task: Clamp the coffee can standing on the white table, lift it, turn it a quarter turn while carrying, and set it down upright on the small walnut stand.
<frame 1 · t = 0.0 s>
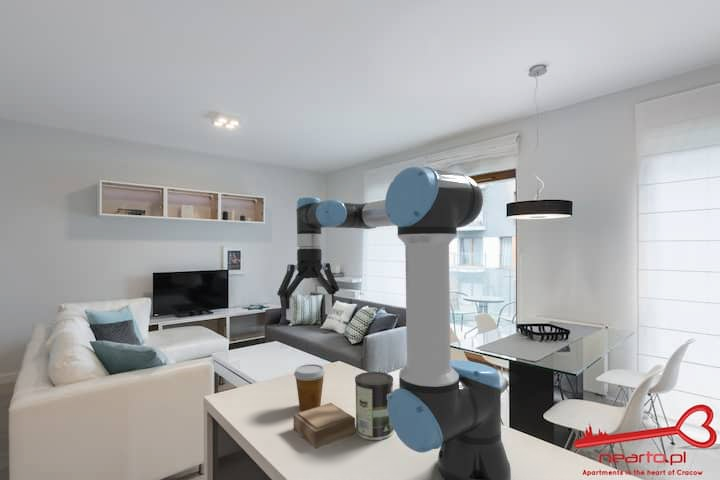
hand: (309, 317, 111), 28 cm above the table, fingers open, 13 cm apart
coffee can: (374, 431, 97), on the table
stand: (323, 431, 97), on the table
disposable coffee cup: (309, 408, 111), on the table
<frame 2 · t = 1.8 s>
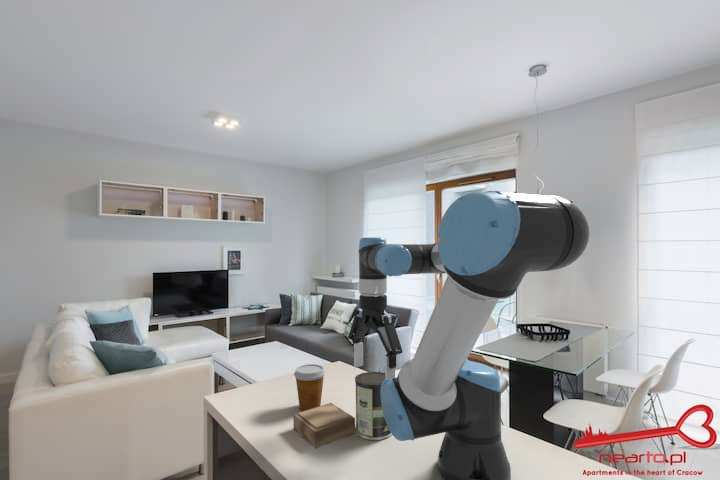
hand: (373, 372, 98), 15 cm above the table, fingers open, 13 cm apart
nothing on the table moved.
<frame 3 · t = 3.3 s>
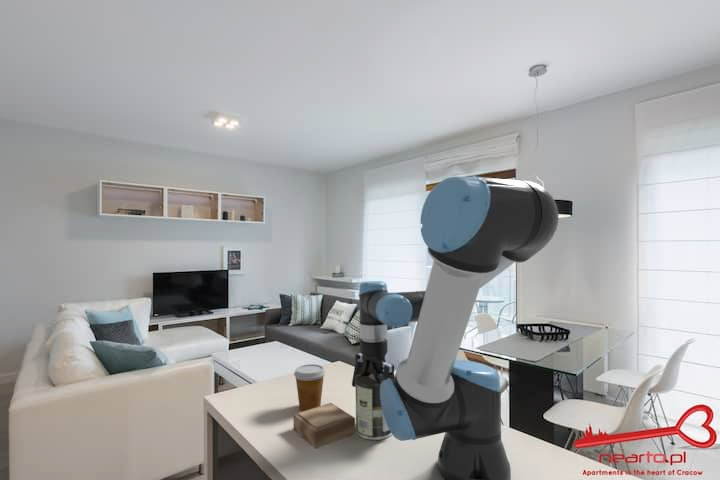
hand: (374, 421, 97), 2 cm above the table, fingers closed on coffee can, 10 cm apart
coffee can: (374, 431, 97), on the table, touching gripper
everything else where it was.
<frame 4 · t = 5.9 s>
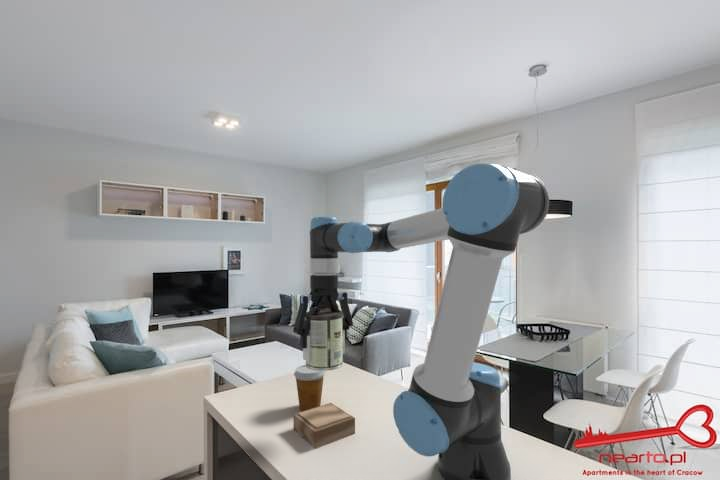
hand: (324, 356, 98), 20 cm above the table, fingers closed on coffee can, 10 cm apart
coffee can: (324, 365, 98), point 17 cm above the table, touching gripper
everything else where it was.
when the fingers open (8 cm above the table, at t = 8.6 s): coffee can stays where it is, resting on stand.
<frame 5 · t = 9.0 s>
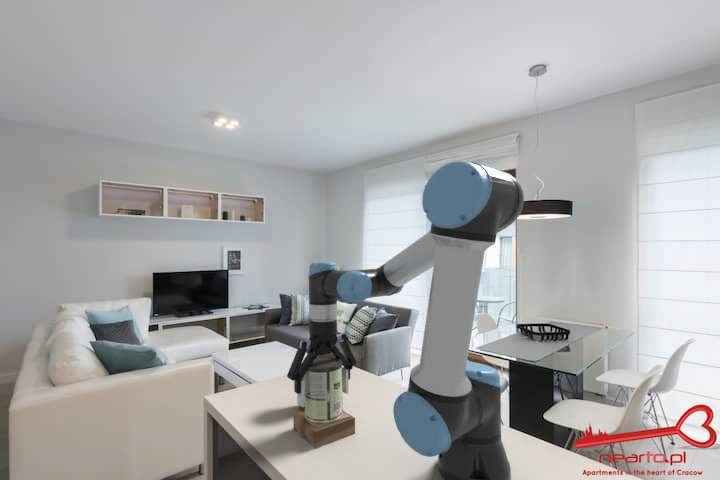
hand: (323, 398, 97), 9 cm above the table, fingers open, 13 cm apart
coffee can: (323, 415, 97), point 4 cm above the table, touching stand
everything else where it was.
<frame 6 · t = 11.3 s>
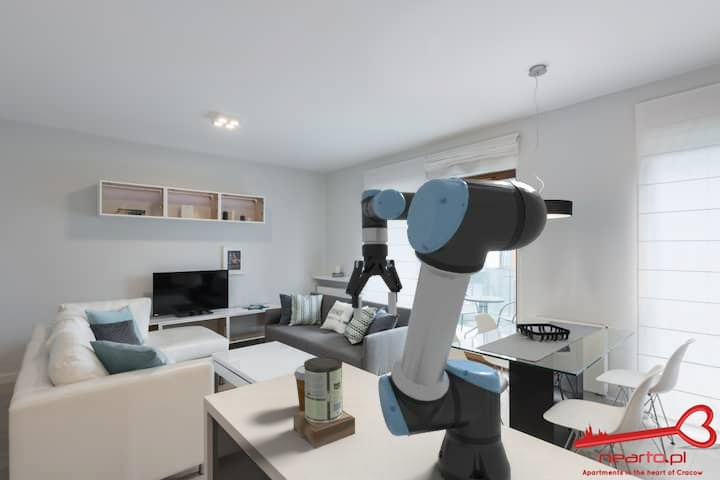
hand: (375, 317, 104), 29 cm above the table, fingers open, 13 cm apart
nothing on the table moved.
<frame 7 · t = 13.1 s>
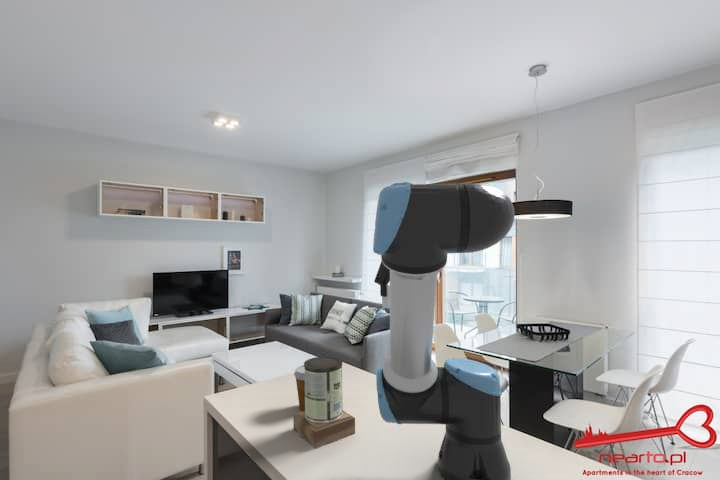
hand: (403, 305, 109), 32 cm above the table, fingers open, 13 cm apart
nothing on the table moved.
at the end: coffee can inside the target area on the stand (0.1 cm from its centre), point 4.2 cm above the stand's base; coffee can tilted 0°; the gripper is holding nothing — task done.
